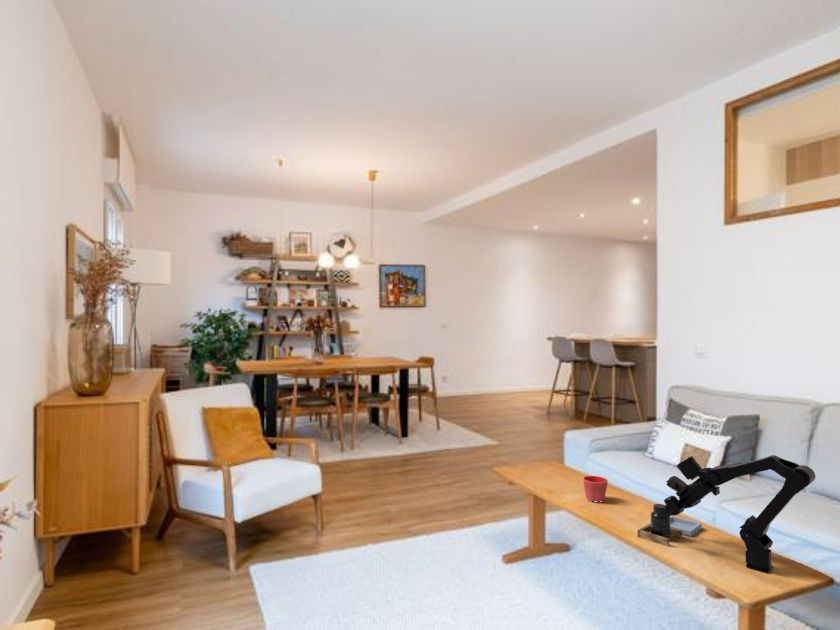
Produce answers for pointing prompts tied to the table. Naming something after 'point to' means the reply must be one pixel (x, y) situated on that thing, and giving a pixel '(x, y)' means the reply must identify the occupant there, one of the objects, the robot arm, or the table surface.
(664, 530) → the supplement bottle
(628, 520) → the table surface
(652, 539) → the cradle
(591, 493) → the flower pot
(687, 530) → the tray
